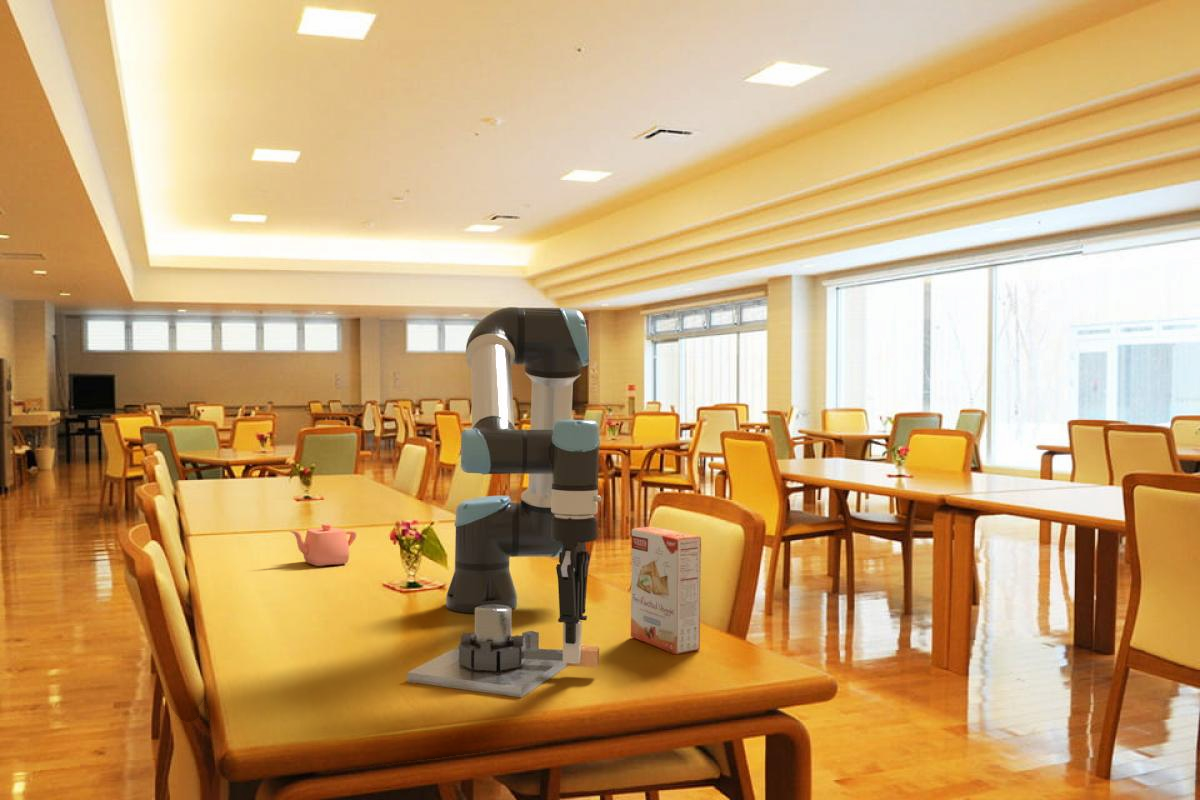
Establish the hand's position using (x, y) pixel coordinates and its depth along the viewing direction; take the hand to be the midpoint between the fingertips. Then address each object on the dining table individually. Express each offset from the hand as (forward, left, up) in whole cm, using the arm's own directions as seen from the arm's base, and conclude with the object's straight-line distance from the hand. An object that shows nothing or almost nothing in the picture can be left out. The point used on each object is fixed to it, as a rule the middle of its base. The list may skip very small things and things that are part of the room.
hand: (571, 661), depth 154 cm
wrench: (-8, 0, -1) cm, 8 cm away
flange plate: (-14, -1, -3) cm, 14 cm away
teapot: (-99, +68, -3) cm, 120 cm away
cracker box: (+7, +27, -3) cm, 28 cm away
